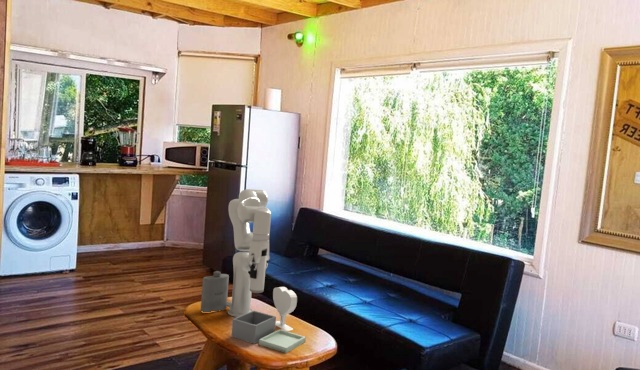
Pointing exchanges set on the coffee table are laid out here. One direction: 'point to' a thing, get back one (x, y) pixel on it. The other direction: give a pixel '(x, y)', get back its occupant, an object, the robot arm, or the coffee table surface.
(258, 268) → the travel mug
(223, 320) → the coffee table surface
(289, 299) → the heart sculpture
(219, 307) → the flask
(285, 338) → the tray
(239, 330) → the deep bin
